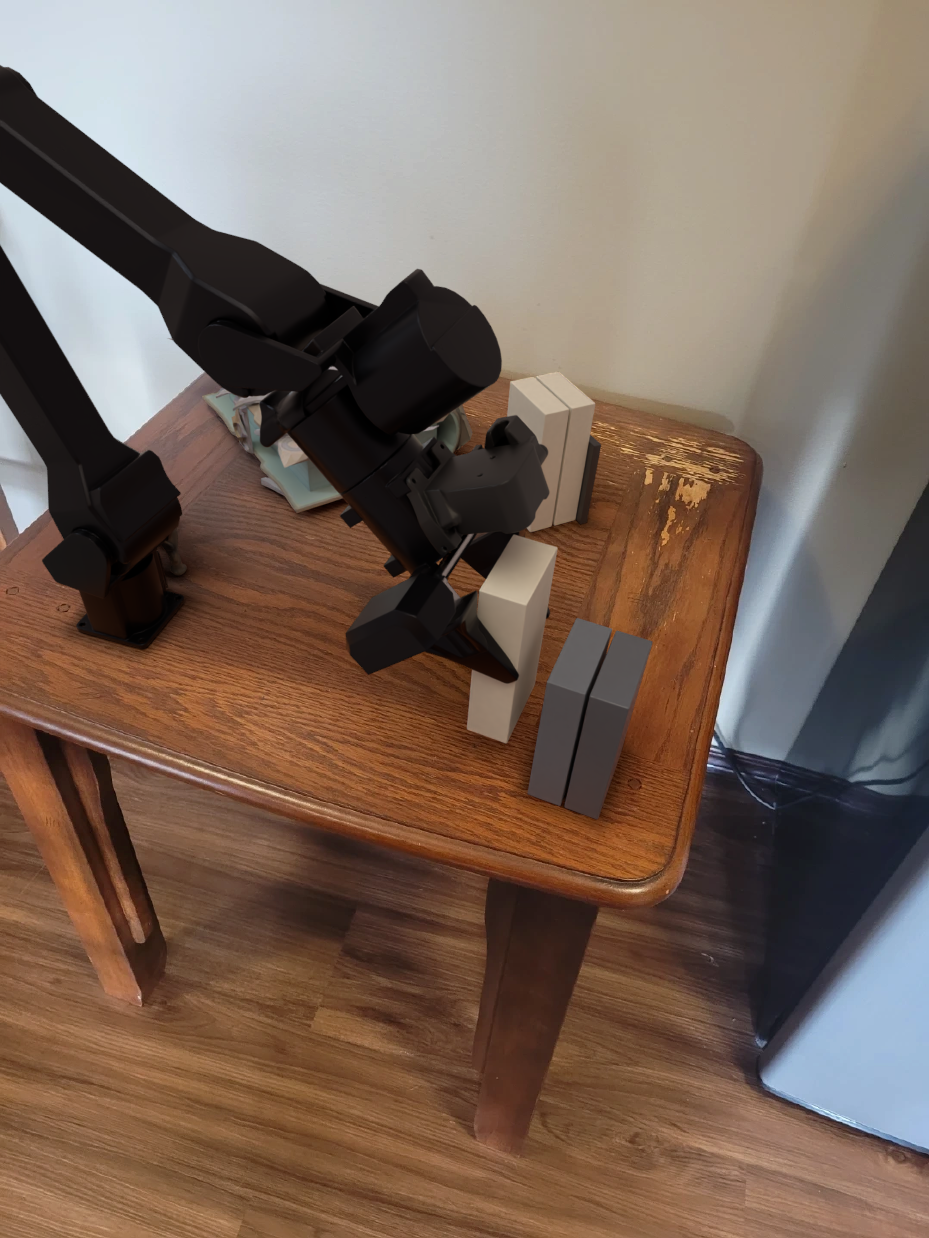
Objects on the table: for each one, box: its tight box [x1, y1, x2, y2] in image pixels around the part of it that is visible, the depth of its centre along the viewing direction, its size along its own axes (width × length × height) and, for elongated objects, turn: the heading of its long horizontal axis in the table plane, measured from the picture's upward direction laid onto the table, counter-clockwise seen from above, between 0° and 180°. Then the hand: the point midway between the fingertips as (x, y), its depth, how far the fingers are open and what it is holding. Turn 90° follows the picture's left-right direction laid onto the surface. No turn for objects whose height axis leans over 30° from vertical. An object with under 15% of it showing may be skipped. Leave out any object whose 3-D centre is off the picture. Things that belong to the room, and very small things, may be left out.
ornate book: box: [166, 337, 474, 514], centre depth 91 cm, size 23×10×30 cm
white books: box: [506, 371, 602, 533], centre depth 81 cm, size 6×8×13 cm
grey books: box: [527, 617, 654, 820], centre depth 58 cm, size 5×6×12 cm
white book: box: [466, 535, 558, 744], centre depth 56 cm, size 3×6×13 cm, turn 158°
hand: (529, 648), depth 56 cm, fingers closed on white book, 6 cm apart
